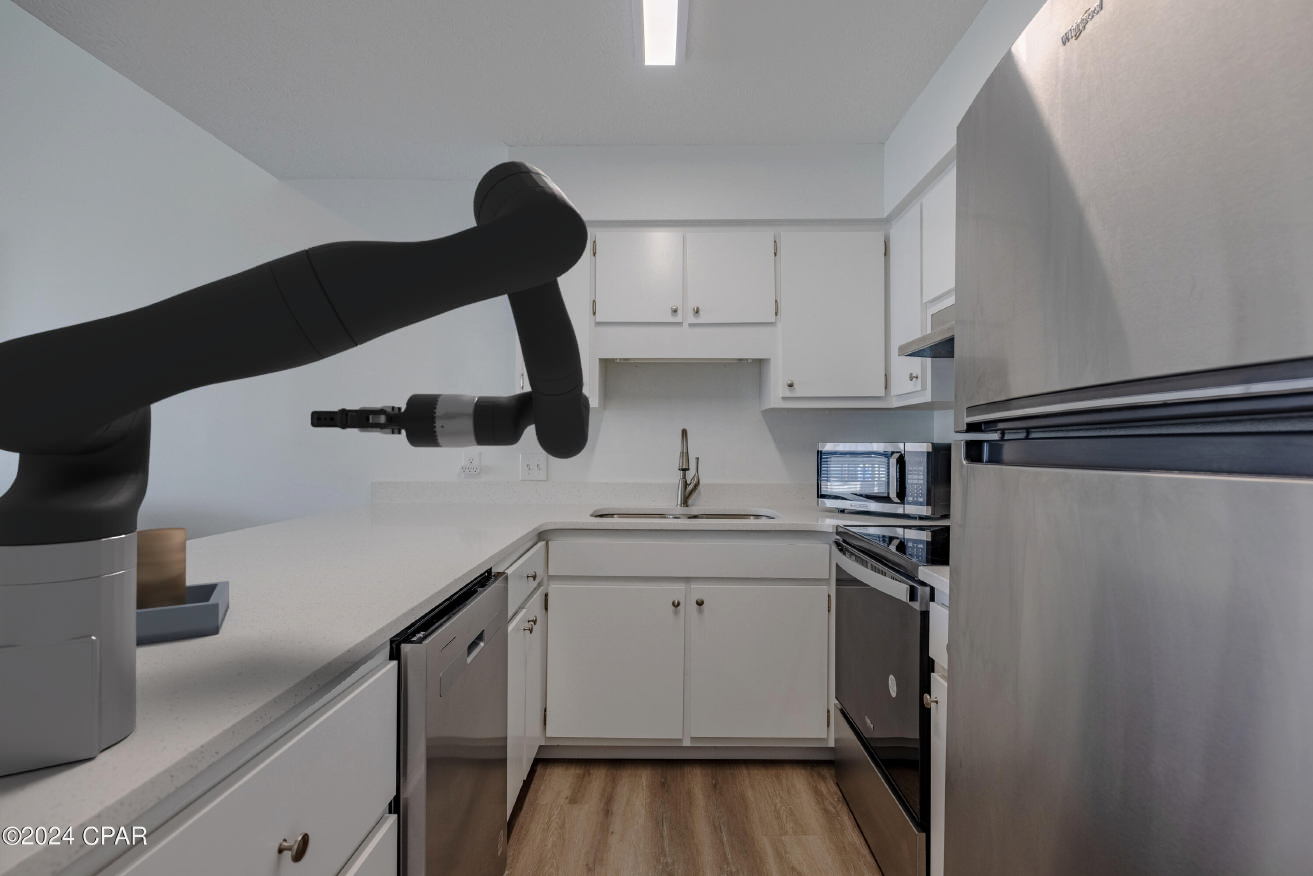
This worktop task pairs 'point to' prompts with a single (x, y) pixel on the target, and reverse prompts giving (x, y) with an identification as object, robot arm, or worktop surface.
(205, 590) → the tray
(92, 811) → the worktop surface
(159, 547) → the canister
